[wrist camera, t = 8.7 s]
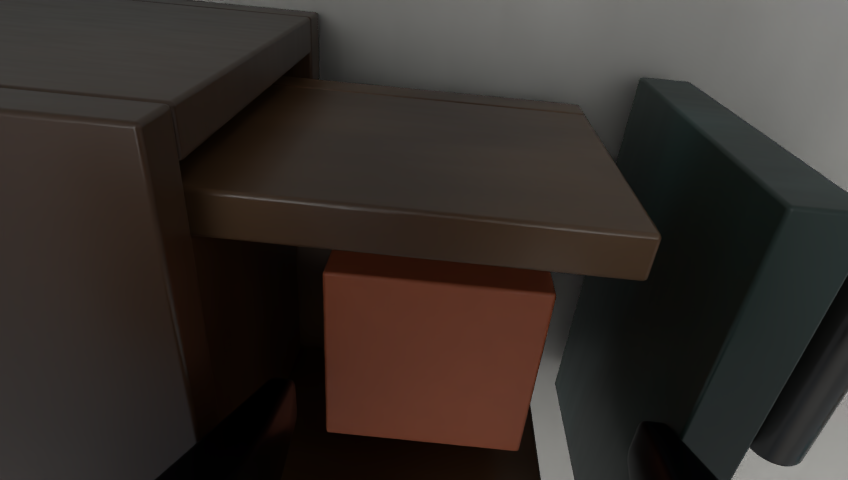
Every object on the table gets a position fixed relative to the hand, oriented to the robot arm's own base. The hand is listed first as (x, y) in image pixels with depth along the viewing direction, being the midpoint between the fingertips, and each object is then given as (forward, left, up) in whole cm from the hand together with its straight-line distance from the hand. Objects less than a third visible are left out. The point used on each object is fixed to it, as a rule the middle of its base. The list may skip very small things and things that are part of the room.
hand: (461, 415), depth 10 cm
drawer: (-1, +1, -6) cm, 7 cm away
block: (0, 0, -5) cm, 5 cm away
